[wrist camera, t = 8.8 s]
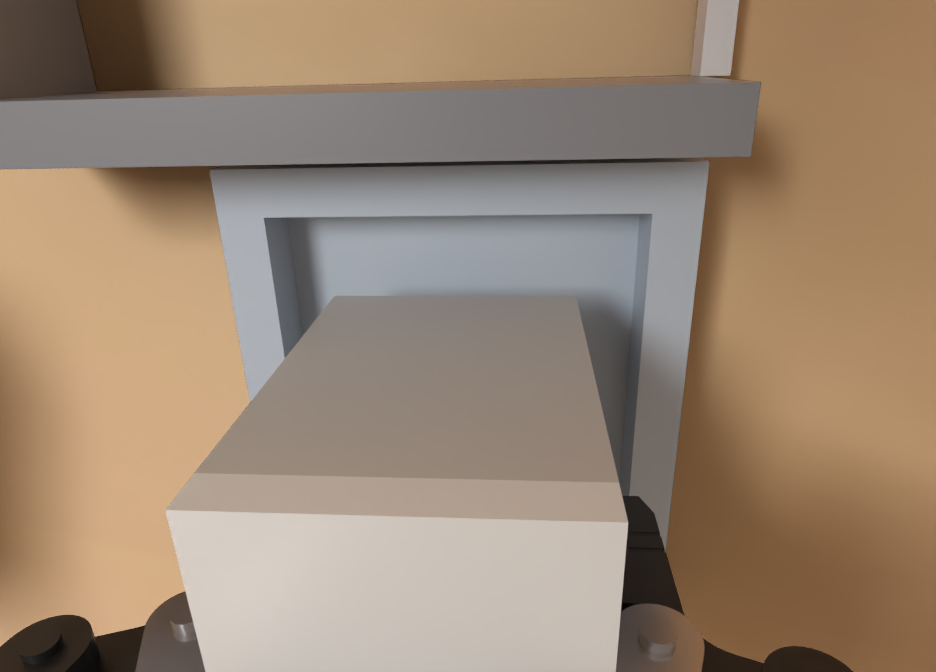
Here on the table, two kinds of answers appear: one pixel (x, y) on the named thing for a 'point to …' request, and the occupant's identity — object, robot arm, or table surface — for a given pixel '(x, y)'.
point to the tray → (487, 266)
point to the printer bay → (358, 111)
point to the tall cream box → (413, 499)
